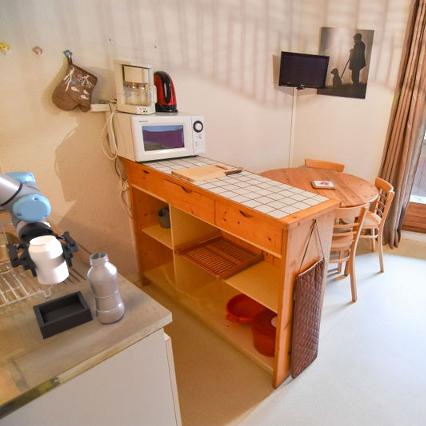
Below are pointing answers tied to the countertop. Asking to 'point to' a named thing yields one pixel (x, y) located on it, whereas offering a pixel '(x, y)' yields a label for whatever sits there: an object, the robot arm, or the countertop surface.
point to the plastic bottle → (105, 288)
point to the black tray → (62, 314)
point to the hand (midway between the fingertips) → (52, 266)
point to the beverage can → (48, 260)
